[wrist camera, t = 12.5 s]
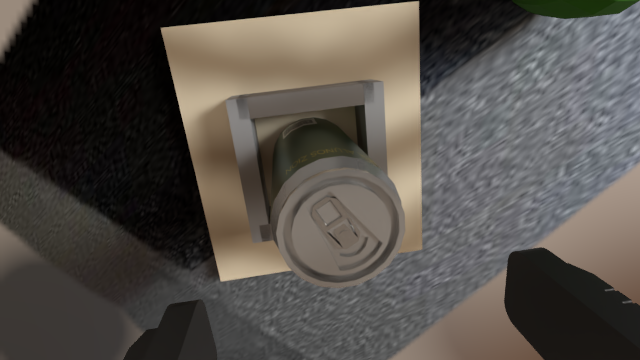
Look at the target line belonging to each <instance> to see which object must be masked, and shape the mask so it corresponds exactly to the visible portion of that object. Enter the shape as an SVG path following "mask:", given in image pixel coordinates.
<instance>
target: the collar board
mask: <svg viewBox="0 0 640 360" xmlns="http://www.w3.org/2000/svg"><path fill="white" fill-rule="evenodd" d="M161 31H162V36H163V40H164V44H165V48H166V52H167V57H168V61H169V65H170V69H171V73H172V78H173V82H174V86H175V90H176V94H177V99H178V103H179V107H180V111H181V116H182V120H183V124H184V128H185V132H186V137H187V141H188V145H189V149H190V153H191V158H192V162H193V166H194V170H195V174H196V179H197V183H198V187H199V191H200V195H201V200H202V204H203V208H204V212H205V217H206V221H207V225H208V229H209V233H210V238H211V242H212V246H213V250H214V254H215V259H216V263H217V267H218V271H219V275H220V280H221V281H228V280H234V279H240V278H246V277H253V276H259V275H265V274H272V273H278V272H284V271H290V270H291V269H290V268H289V267H288V266H287V264H286V262H285V260H284V259H283V257H282V255H281V254H280V252H279V249H278V247H277V245H276V244H275V242H274V240H273V234H272V229H271V223H270V215H271V188H272V161H273V151H274V145H275V143H276V141H277V139H278V137H279V135H280V133H281V132H282V131H283V130H284V129H286V128H287V127H288V126H289V125H290V124H292V123H294V122H296V121H298V120H300V119H304V118H312V117H316V118H321V119H326V120H328V121H330V122H332V123H334V124H336V125H337V126H338V127H339V128H340V129H341V130H342V131H343V132H344V133H345V134H346V135H347V136H348V137H349V138H350V139H351V140H352V141H353V142H354V143H355V144H356V145H357V146H358V147H359V148H360V149H361V150H362V151H363V152H364V153H365V154H366V155H367V156H368V157H369V158H370V159H371V160H372V161H373V162H374V163H375V164H376V165H377V166H379V167H380V168H381V170H382V171H383V172H384V173H385V174H386V175H387V176H388V177H389V178H390V179H391V181H392V182H393V183H394V184H395V187H396V189H397V192H398V194H399V197H400V199H401V204H402V208H403V210H404V213H405V234H404V237H403V241H402V244H401V247H400V250H399V251H398V253H403V252H410V251H416V250H422V201H421V127H420V52H419V1H415V2H405V3H396V4H386V5H376V6H367V7H357V8H348V9H338V10H328V11H319V12H309V13H300V14H290V15H280V16H271V17H261V18H252V19H242V20H233V21H223V22H213V23H204V24H194V25H185V26H175V27H165V28H161Z"/></svg>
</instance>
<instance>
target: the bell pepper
mask: <svg viewBox="0 0 640 360" xmlns="http://www.w3.org/2000/svg"><path fill="white" fill-rule="evenodd" d="M512 1H513V2H514V3H515V4H517V5H519V6H520V7H522V8H523V9H525V10H526V11H528V12H531V13H534V14H538V15H542V16H549V17H556V18H562V19H569V18H582V17H593V16H602V15H610V14H618V13H620V12H622V11H624V10H625V9H627V8H628V7H630V6H631V5H633V4H635V3H636V2H638V1H639V0H512Z"/></svg>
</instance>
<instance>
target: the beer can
mask: <svg viewBox="0 0 640 360" xmlns="http://www.w3.org/2000/svg"><path fill="white" fill-rule="evenodd" d="M270 223H271V229H272V234H273V240H274V242H275V244H276V245H277V247H278V249H279V252H280V254H281V255H282V257H283V259H284V260H285V262H286V264H287V266H288V267H289V268H290V269H291V270H292V271H293V272H295V273H296V274H297V275H298V276H299V277H300V278H302V279H303V280H306V281H308V282H311V283H313V284H315V285H318V286H322V287H332V288H342V287H348V286H354V285H358V284H360V283H363V282H365V281H367V280H369V279H371V278H373V277H375V276H376V275H378V274H379V273H380V272H381V271H382V270H384V269H385V268H386V267H387V266H388V265H389V264H390V263H391V262H392V260H393V259H394V257H395V256H396V254H397V253H398V251H399V250H400V247H401V244H402V241H403V237H404V234H405V213H404V210H403V208H402V204H401V199H400V197H399V194H398V192H397V189H396V187H395V184H394V183H393V182H392V181H391V179H390V178H389V177H388V176H387V175H386V174H385V173H384V172H383V171H382V170H381V168H380V167H379V166H377V165H376V164H375V163H374V162H373V161H372V160H371V159H370V158H369V157H368V156H367V155H366V154H365V153H364V152H363V151H362V150H361V149H360V148H359V147H358V146H357V145H356V144H355V143H354V142H353V141H352V140H351V139H350V138H349V137H348V136H347V135H346V134H345V133H344V132H343V131H342V130H341V129H340V128H339V127H338V126H337V125H336V124H334V123H332V122H330V121H328V120H326V119H321V118H316V117H312V118H304V119H300V120H298V121H296V122H294V123H292V124H290V125H289V126H288V127H287V128H286V129H284V130H283V131H282V132H281V133H280V135H279V137H278V139H277V141H276V143H275V145H274V151H273V161H272V188H271V215H270Z"/></svg>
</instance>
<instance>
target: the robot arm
mask: <svg viewBox="0 0 640 360" xmlns="http://www.w3.org/2000/svg"><path fill="white" fill-rule="evenodd" d="M504 299H505V300H504V303H505V308H506V312H507V314H508V316H509V319H510V320H511V322H512V324H513V325H514V326H515V327H516V328H517V329H518V331H519V332H520V333H521V334H522V335H523V336H524V337H525V339H526V340H527V341H528V342H529V343H530V344H531V345H532V346H533V348H534V349H535V350H536V351H537V352H538V353H539V354H540V355H541V357H542V358H543V359H544V360H640V306H639V305H638V304H637V303H632V301H631V299H629V298H628V297H626V296H625V295H623V294H622V293H620V292H619V291H615V290H614V288H613V287H612V286H610V285H609V284H607V283H606V282H604V281H603V280H601V279H600V278H598V277H597V276H596V275H594V274H592V273H590V272H587V271H585V270H582V269H580V268H578V267H576V266H573V265H571V264H569V263H568V264H567V263H566V262H564V261H563V260H561V259H560V258H559V257H557V256H556V255H554V254H553V253H552V252H550V251H549V250H547V249H545V248H534V249H528V250H521V251H515V252H512V253H511V254H510V255H509V258H508V266H507V277H506V287H505V298H504ZM123 360H217V351H216V346H215V342H214V338H213V334H212V330H211V327H210V323H209V319H208V315H207V311H206V307H205V304H204V302H203V301H202V300H194V301H188V302H181V303H175V304H170V305H169V306H168V307H167V309H166V311H165V313H164V315H163V317H162V320H161V322H160V324H159V326H158V328H155V329H149V330H146V331H145V332H144V333H143V334H142V336H141V337H140V338H139V339H138V340H137V341H136V342H135V343H134V344H133V345H132V346H131V347H130V348H129V350H128V351H127V353H126V355H125V357H124V359H123Z"/></svg>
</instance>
